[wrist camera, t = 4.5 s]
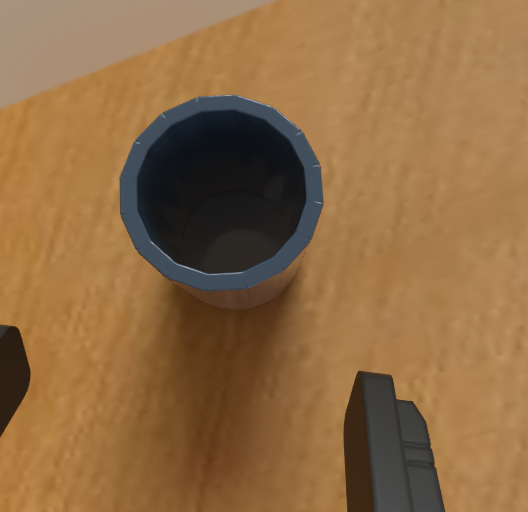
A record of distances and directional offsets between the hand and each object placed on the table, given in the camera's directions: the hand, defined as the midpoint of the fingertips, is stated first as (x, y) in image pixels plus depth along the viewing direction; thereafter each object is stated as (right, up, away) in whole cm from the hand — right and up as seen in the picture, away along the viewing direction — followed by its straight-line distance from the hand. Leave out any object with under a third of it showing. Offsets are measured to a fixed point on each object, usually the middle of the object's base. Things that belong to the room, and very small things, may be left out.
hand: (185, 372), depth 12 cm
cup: (+1, +3, +11) cm, 11 cm away
